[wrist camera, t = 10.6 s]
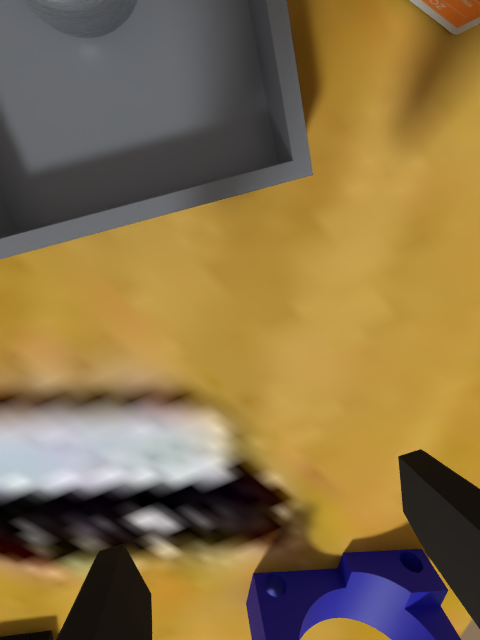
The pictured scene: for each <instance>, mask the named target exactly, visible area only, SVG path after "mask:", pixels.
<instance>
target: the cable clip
mask: <svg viewBox="0 0 480 640" xmlns="http://www.w3.org/2000/svg"><path fill="white" fill-rule="evenodd" d="M447 592H448V589H447V588H446V586H445V584H444V583H443V581H442V580H441V578H440V577H439V575H438V574H437V572H436V571H435V569H434V568H433V566H432V564H431V563H430V561H429V560H428V558H427V557H426V555H425V554H424V552H423V551H422V549H412V550H392V551H372V552H352V553H343V555H342V558H341V561H340V564H339V567H338V568H337V569H320V570H303V571H286V572H269V573H253V577H252V581H251V585H250V590H249V594H248V598H247V603H246V605H247V611H248V618H249V624H250V630H251V636H252V640H300V639H301V637H302V636H303V635H304V633H305V632H306V631H307V630H308V629H309V628H311V627H312V626H313V625H315V624H317V623H318V622H321V621H323V620H326V619H331V618H349V619H354V620H358V621H361V622H363V623H366V624H368V625H370V626H372V627H374V628H376V629H377V630H379V631H381V632H382V633H384V634H385V635H386V636H388V637H389V638H390V639H392V640H461V639H460V637H459V636H458V634H457V632H456V631H455V629H454V627H453V626H452V624H451V622H450V621H449V619H448V617H447V616H446V614H445V613H444V611H443V609H442V608H441V604H442V602H443V600H444V598H445V596H446V594H447Z"/></svg>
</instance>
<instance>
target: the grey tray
mask: <svg viewBox="0 0 480 640" xmlns="http://www.w3.org/2000/svg"><path fill="white" fill-rule="evenodd" d="M311 175H313V173H312V166H311V159H310V153H309V146H308V139H307V133H306V126H305V119H304V113H303V106H302V99H301V93H300V86H299V79H298V73H297V66H296V59H295V53H294V46H293V39H292V33H291V26H290V19H289V13H288V6H287V0H138V1H137V4H136V6H135V8H134V10H133V12H132V13H131V15H130V16H129V18H128V19H127V20H126V21H125V22H124V23H123V24H122V25H121V26H120V27H118V28H117V29H116V30H114V31H112V32H110V33H109V34H106V35H103V36H99V37H93V38H82V37H75V36H72V35H68V34H65V33H63V32H61V31H58V30H57V29H55V28H53V27H51V26H50V25H48V24H47V23H46V22H44V21H43V20H42V19H41V18H39V17H38V16H37V15H36V14H35V13H34V12H33V11H32V10H31V9H30V8H29V6H28V5H27V4H26V3H25V2H24V1H23V0H0V259H3V258H6V257H10V256H14V255H18V254H21V253H25V252H29V251H32V250H36V249H40V248H43V247H47V246H51V245H55V244H58V243H62V242H66V241H69V240H73V239H77V238H81V237H84V236H88V235H92V234H95V233H99V232H103V231H107V230H110V229H114V228H118V227H121V226H125V225H129V224H133V223H136V222H140V221H144V220H147V219H151V218H155V217H159V216H162V215H166V214H170V213H173V212H177V211H181V210H185V209H188V208H192V207H196V206H199V205H203V204H207V203H211V202H214V201H218V200H222V199H225V198H229V197H233V196H236V195H240V194H244V193H248V192H251V191H255V190H259V189H262V188H266V187H270V186H274V185H277V184H281V183H285V182H288V181H292V180H296V179H300V178H303V177H307V176H311Z"/></svg>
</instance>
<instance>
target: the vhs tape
mask: <svg viewBox="0 0 480 640" xmlns="http://www.w3.org/2000/svg"><path fill="white" fill-rule="evenodd" d="M0 640H53V636H52V631H45V632H37V633H32V635H31V633H28V634H19V635H12V636H4V637H0Z"/></svg>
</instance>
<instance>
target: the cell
mask: <svg viewBox="0 0 480 640" xmlns="http://www.w3.org/2000/svg"><path fill="white" fill-rule="evenodd" d="M23 1H24V2H25V3H26V4H27V5H28V6H29V8H30V9H31V10H32V11H33V12H34V13H35V14H36V15H37V16H38V17H39V18H41V19H42V20H43V21H44V22H46V23H47V24H48V25H50V26H51V27H53V28H55V29H57V30H58V31H61V32H63V33H65V34H68V35H72V36H75V37H82V38H93V37H99V36H103V35H106V34H109V33H110V32H112V31H114V30H116V29H117V28H118V27H120V26H121V25H122V24H123V23H124V22H125V21H126V20H127V19H128V18H129V16H130V15H131V13H132V12H133V10H134V8H135V6H136V4H137V1H138V0H23Z"/></svg>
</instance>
